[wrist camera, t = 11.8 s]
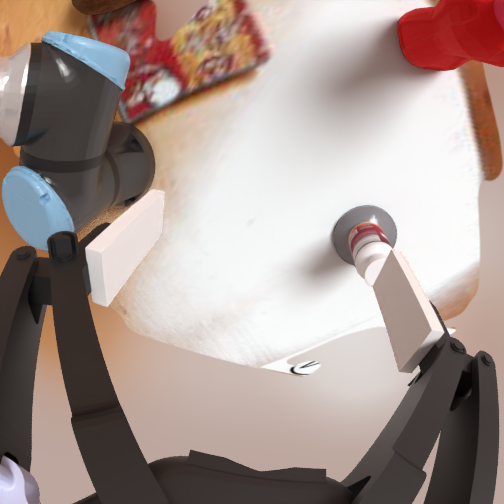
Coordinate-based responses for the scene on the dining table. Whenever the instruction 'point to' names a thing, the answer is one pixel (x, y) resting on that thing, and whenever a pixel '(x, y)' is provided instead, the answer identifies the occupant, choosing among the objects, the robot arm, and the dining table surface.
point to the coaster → (357, 217)
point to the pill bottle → (369, 250)
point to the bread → (99, 5)
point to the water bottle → (453, 34)
